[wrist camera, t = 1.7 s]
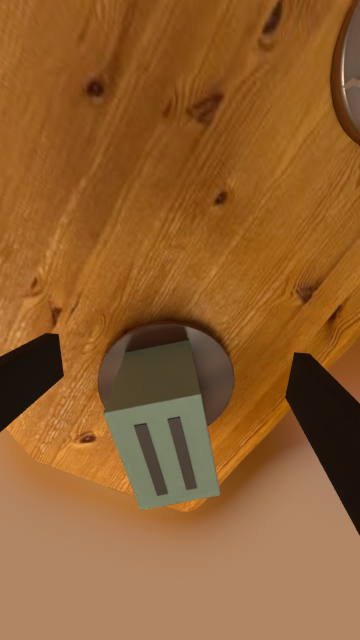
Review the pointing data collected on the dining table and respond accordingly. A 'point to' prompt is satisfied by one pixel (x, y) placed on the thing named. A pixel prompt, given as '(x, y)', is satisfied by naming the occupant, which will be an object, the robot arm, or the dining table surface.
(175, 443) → the toaster
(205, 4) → the dining table surface
